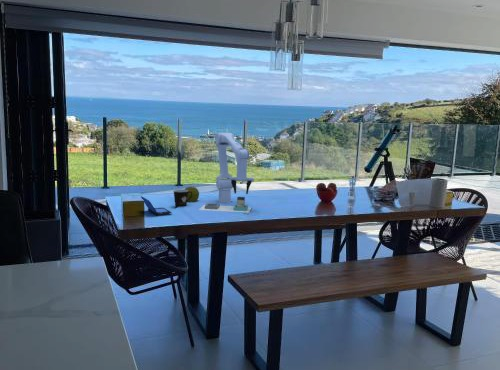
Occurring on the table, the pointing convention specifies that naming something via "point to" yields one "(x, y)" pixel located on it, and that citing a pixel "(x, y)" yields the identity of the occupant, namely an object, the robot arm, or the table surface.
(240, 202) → the plug
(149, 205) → the handheld game console
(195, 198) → the apple
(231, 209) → the panel
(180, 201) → the coffee mug
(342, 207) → the table surface
